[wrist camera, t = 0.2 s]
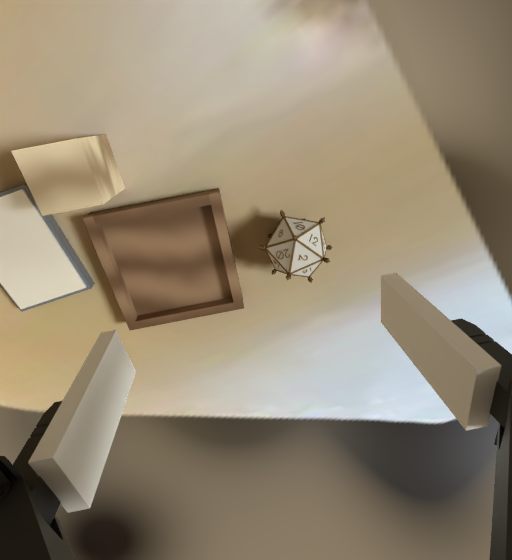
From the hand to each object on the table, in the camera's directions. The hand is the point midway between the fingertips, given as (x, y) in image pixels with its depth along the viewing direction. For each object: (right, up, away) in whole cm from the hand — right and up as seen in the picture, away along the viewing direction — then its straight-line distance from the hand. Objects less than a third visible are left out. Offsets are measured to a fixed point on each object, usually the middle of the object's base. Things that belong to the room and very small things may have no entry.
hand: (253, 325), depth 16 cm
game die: (+5, +8, +27) cm, 29 cm away
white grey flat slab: (-28, +6, +25) cm, 38 cm away
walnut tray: (-11, +5, +27) cm, 30 cm away
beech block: (-19, +15, +21) cm, 32 cm away
